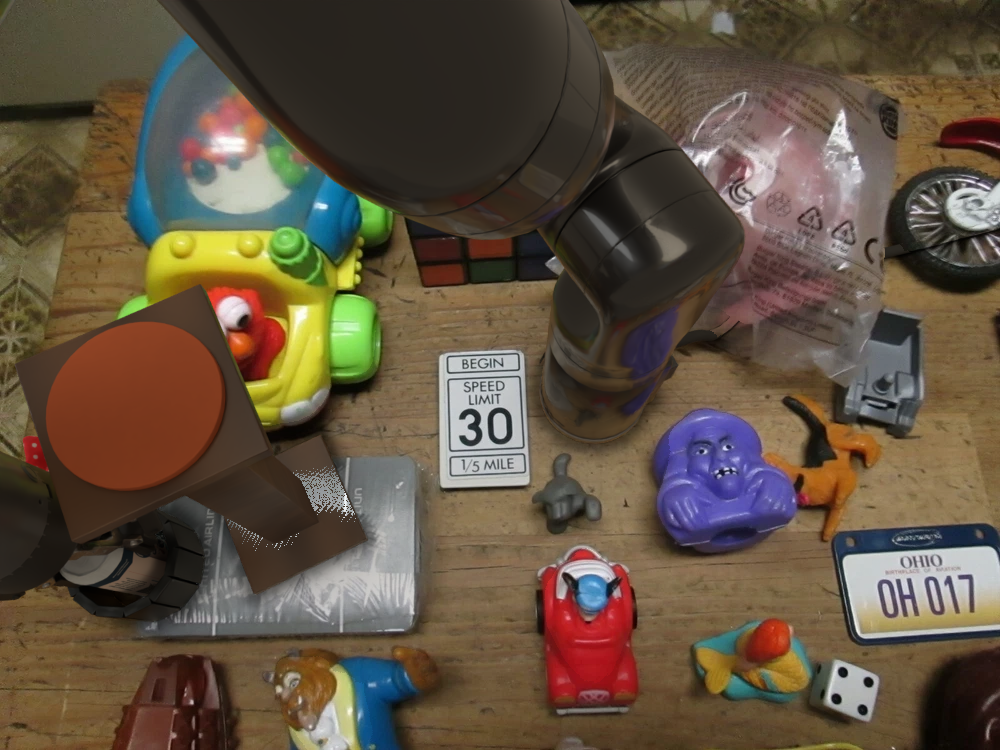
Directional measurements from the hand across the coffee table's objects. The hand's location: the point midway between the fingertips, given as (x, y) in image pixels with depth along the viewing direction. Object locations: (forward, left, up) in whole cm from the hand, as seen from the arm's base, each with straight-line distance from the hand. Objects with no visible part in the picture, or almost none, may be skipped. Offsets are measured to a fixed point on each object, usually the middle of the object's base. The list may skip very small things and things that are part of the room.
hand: (113, 556), depth 62 cm
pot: (0, 0, -7) cm, 7 cm away
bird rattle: (+1, -8, -8) cm, 11 cm away
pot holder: (-12, +1, +24) cm, 27 cm away
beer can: (0, 0, -8) cm, 8 cm away
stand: (-12, +1, -7) cm, 14 cm away
